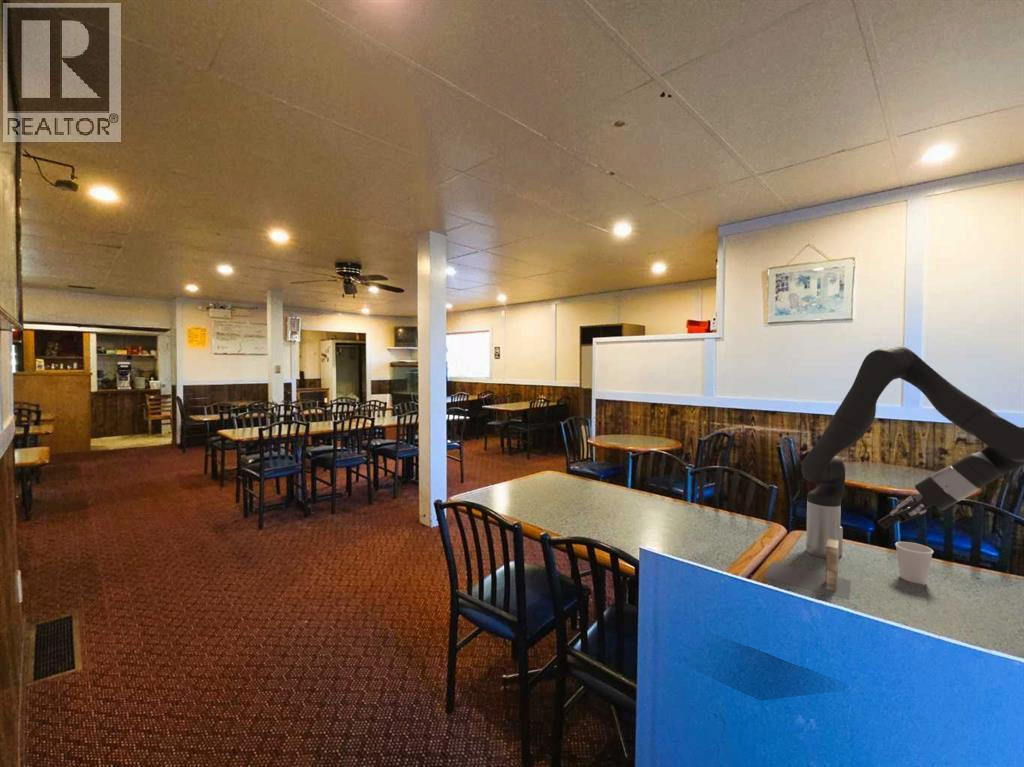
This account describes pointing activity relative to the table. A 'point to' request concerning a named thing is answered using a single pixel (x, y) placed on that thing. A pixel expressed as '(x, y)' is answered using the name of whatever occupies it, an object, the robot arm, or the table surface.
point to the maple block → (832, 564)
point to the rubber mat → (806, 579)
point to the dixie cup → (914, 561)
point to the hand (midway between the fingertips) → (880, 525)
